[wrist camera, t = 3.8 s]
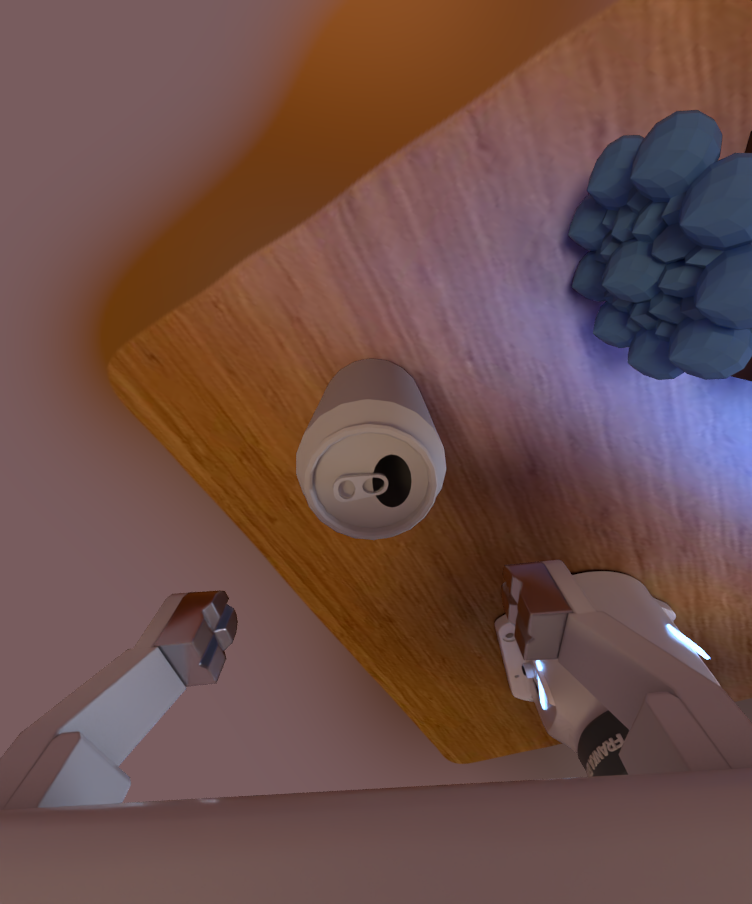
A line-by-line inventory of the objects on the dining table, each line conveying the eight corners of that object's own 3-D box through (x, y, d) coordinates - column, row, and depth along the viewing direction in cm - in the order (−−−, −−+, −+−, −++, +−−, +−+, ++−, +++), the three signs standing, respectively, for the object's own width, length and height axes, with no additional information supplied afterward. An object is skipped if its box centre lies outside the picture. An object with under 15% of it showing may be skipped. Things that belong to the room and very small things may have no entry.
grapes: (657, 332, 23) (900, 371, 12) (559, 368, 24) (705, 432, 14) (653, 127, 18) (1047, -98, 8) (532, 184, 19) (725, 57, 9)
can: (420, 446, 27) (448, 550, 16) (329, 450, 27) (300, 555, 17) (422, 353, 24) (460, 408, 13) (319, 358, 24) (273, 415, 13)
